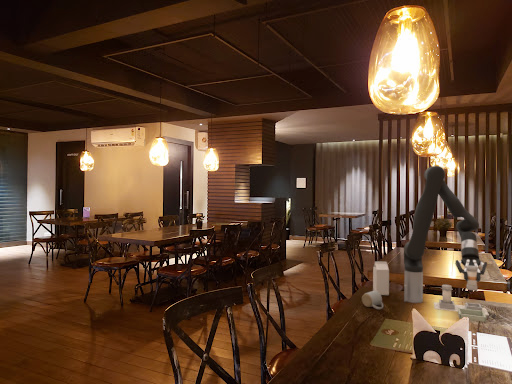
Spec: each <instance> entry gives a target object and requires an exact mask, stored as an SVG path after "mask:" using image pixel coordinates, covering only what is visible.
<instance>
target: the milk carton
mask: <svg viewBox="0 0 512 384" xmlns="http://www.w3.org/2000/svg"><path fill="white" fill-rule="evenodd" d="M372 268H373V271H372V276H373V277H372V291H374V290H375V291H378V292H379V293H380V295H381V296H389V295H390V269H389V265H388V261H374V264H373V267H372Z"/></svg>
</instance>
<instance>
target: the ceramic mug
mask: <svg viewBox="0 0 512 384" xmlns="http://www.w3.org/2000/svg"><path fill="white" fill-rule="evenodd" d="M382 297H383V296H382V295H380V293H379V292H378V291H375V290H374V291H373V290H372V291H368V292H365V293H364V294H363V295H362V296H361V302H362V304H363V305H364V306H365V307H367V308H372V307H373V308H374V309H376V310H383V308H384V303H383V298H382Z"/></svg>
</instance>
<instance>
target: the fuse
mask: <svg viewBox="0 0 512 384" xmlns="http://www.w3.org/2000/svg"><path fill="white" fill-rule="evenodd" d="M452 286H453V285H450V284H442V285H441V290H442V300H443V302H442V303H448V304H452V303H451V301H452V289H453V288H452Z"/></svg>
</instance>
